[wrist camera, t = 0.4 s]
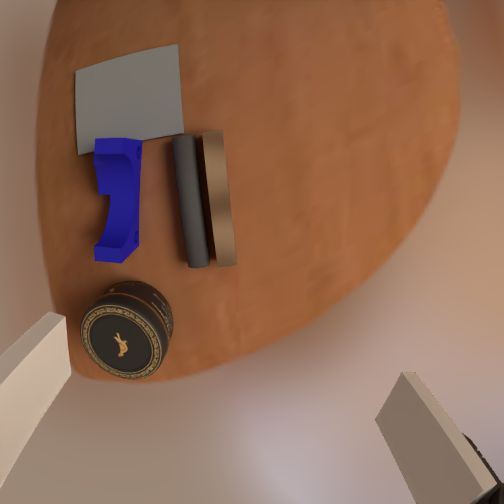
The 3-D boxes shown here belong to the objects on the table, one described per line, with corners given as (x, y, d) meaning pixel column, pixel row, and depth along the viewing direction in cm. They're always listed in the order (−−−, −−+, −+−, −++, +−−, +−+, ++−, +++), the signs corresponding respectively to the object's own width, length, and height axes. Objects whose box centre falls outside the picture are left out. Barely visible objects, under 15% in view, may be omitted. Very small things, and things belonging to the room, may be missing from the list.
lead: (176, 139, 31) (168, 138, 29) (197, 136, 31) (190, 134, 29) (192, 261, 35) (185, 268, 33) (212, 260, 35) (206, 267, 32)
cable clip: (106, 140, 30) (82, 139, 24) (142, 140, 30) (123, 137, 24) (104, 243, 33) (82, 259, 28) (138, 245, 34) (121, 263, 28)
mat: (77, 72, 27) (75, 71, 27) (178, 45, 28) (177, 43, 27) (80, 155, 30) (78, 155, 30) (184, 133, 31) (183, 132, 30)
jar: (154, 264, 34) (134, 288, 27) (190, 334, 37) (181, 370, 30) (90, 291, 35) (62, 317, 27) (127, 354, 37) (109, 388, 30)
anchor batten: (204, 135, 31) (202, 132, 28) (223, 132, 31) (222, 129, 28) (219, 260, 35) (217, 266, 32) (236, 258, 35) (236, 264, 32)
